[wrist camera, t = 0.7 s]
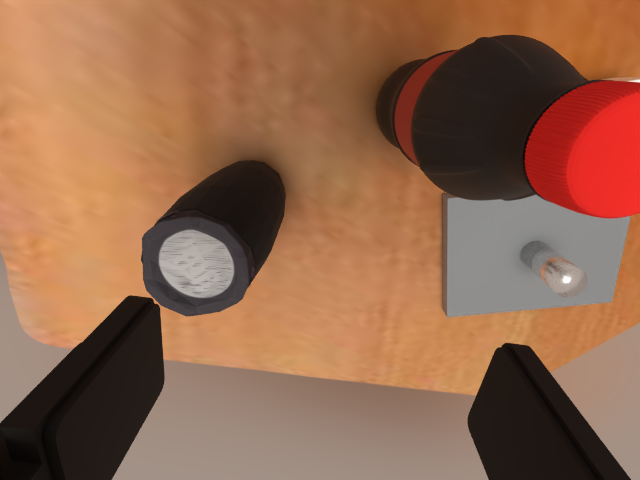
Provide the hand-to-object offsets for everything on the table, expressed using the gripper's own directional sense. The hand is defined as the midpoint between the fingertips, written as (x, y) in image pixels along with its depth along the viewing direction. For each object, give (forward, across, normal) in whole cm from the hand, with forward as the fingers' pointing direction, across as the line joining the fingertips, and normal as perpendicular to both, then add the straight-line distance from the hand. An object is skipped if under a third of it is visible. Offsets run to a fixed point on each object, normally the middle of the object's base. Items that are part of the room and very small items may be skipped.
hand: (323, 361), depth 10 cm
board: (+32, -25, +8) cm, 42 cm away
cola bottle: (+33, -8, -6) cm, 34 cm away
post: (+30, -25, +8) cm, 40 cm away
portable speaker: (+33, +8, +6) cm, 34 cm away
